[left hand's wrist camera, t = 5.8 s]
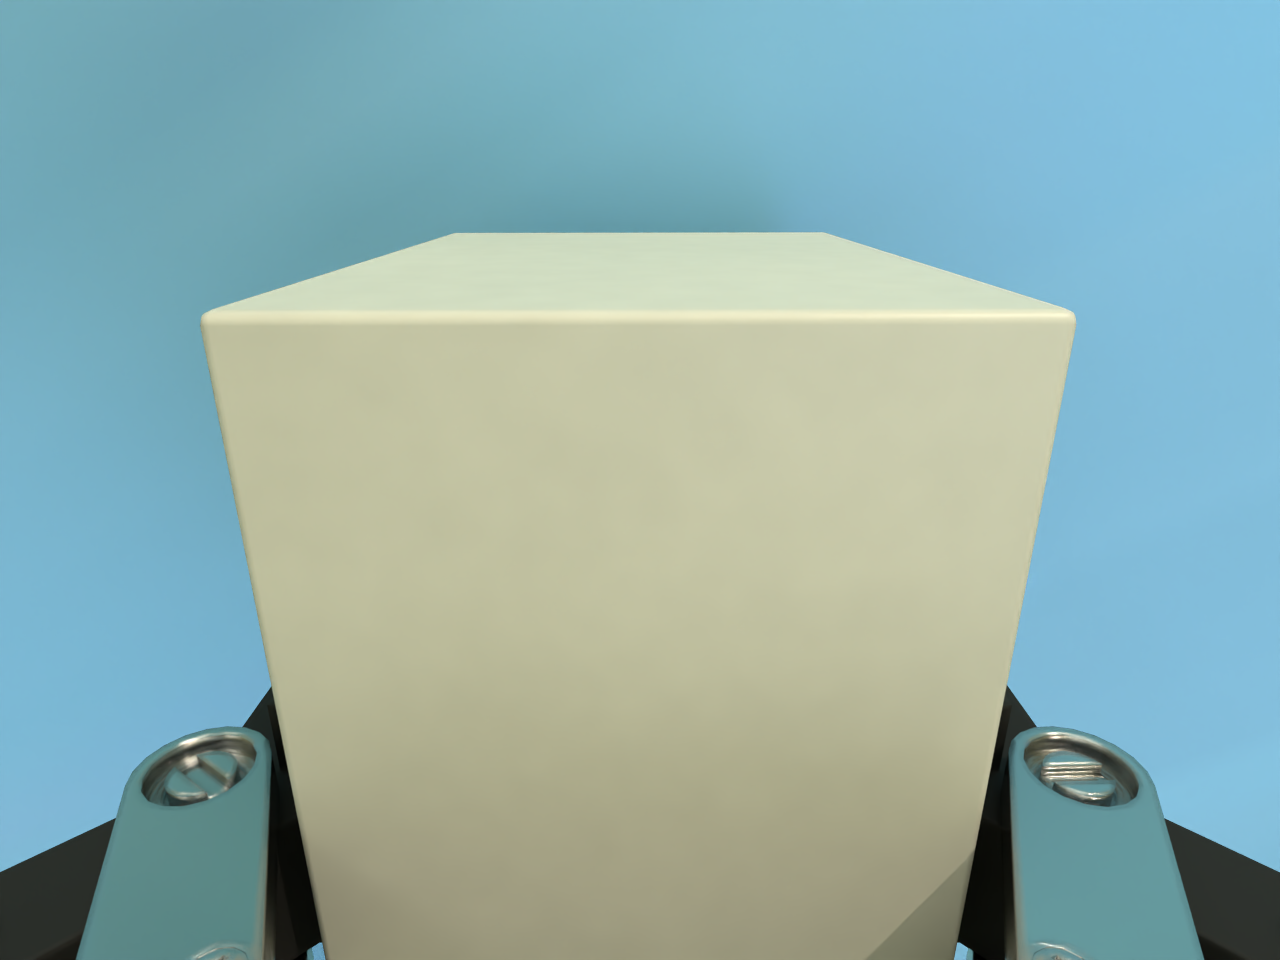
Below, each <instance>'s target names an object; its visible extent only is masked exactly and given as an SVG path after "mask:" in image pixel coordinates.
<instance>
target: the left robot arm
mask: <svg viewBox="0 0 1280 960" xmlns="http://www.w3.org/2000/svg"><path fill="white" fill-rule="evenodd" d="M319 942H322V938H321V933H320V928H319V923H318V918H317V913H316V908H315V903H314V898H313V893H312V888H311V883H310V878H309V873H308V868H307V863H306V857H305V852H304V847H303V842H302V837H301V832H300V827H299V822H298V817H297V812H296V807H295V802H294V797H293V792H292V787H291V782H290V777H289V772H288V767H287V761H286V756H285V751H284V746H283V741H282V736H281V731H280V726H279V721H278V716H277V711H276V706H275V701H274V696H273V691H272V686H271V688H270V689H269V691H268V692H267V693H266V695H265V696H264V698H263V699H262V700H261V702H260V703H259V705H258V706H257V707H256V709H255V710H254V712H253V713H252V714H251V716H250V717H249V719H248V720H247V721H246V723H245V724H244V726H243V727H229V726H227V727H219V728H211V729H206V730H202V731H199V732H195V733H192V734H189V735H185V736H183V737H181V738H179V739H177V740H175V741H173V742H170V743H168V744H166V745H164V746H163V747H161V748H160V749H158V750H157V751H155V752H154V753H152V754H151V755H149V756H148V757H146V758H145V759H144V760H143V762H142V763H141V764H140V765H139V766H138V767H137V768H136V769H135V770H134V771H133V772H132V774H131V776H130V778H129V779H128V781H127V783H126V785H125V788H124V791H123V795H122V799H121V802H120V806H119V809H118V813H117V816H116V818H115V819H113V820H111V821H108V822H106V823H104V824H102V825H100V826H98V827H96V828H94V829H91V830H89V831H87V832H85V833H83V834H81V835H79V836H76V837H74V838H72V839H70V840H68V841H66V842H64V843H62V844H59V845H57V846H55V847H53V848H51V849H49V850H47V851H45V852H42V853H40V854H38V855H36V856H34V857H32V858H30V859H27V860H25V861H23V862H21V863H19V864H17V865H15V866H13V867H10V868H8V869H6V870H4V871H2V872H0V960H314V957H313V952H312V947H313V946H315V945H316V944H318V943H319ZM957 942H960V943H961V944H963V945H964V946H966V947H968V952H967V957H966V960H1280V872H1278V871H1276V870H1273V869H1271V868H1269V867H1267V866H1265V865H1263V864H1261V863H1258V862H1256V861H1254V860H1252V859H1250V858H1248V857H1246V856H1244V855H1241V854H1239V853H1237V852H1235V851H1233V850H1231V849H1229V848H1226V847H1224V846H1222V845H1220V844H1218V843H1216V842H1214V841H1212V840H1209V839H1207V838H1205V837H1203V836H1201V835H1199V834H1197V833H1194V832H1192V831H1190V830H1188V829H1186V828H1184V827H1182V826H1180V825H1177V824H1175V823H1173V822H1171V821H1169V820H1167V819H1165V818H1164V816H1163V813H1162V809H1161V806H1160V802H1159V799H1158V795H1157V791H1156V788H1155V785H1154V783H1153V781H1152V779H1151V778H1150V776H1149V774H1148V772H1147V771H1146V770H1145V769H1144V768H1143V767H1142V766H1141V765H1140V764H1139V763H1138V762H1137V760H1136V759H1135V758H1134V757H1132V756H1131V755H1129V754H1128V753H1126V752H1125V751H1123V750H1122V749H1120V748H1119V747H1117V746H1116V745H1114V744H1112V743H1110V742H1107V741H1105V740H1103V739H1101V738H1099V737H1097V736H1095V735H1091V734H1088V733H1085V732H1081V731H1078V730H1074V729H1069V728H1061V727H1053V726H1051V727H1036V725H1035V724H1034V722H1033V721H1032V720H1031V718H1030V717H1029V715H1028V714H1027V713H1026V711H1025V710H1024V708H1023V707H1022V706H1021V704H1020V703H1019V701H1018V700H1017V699H1016V697H1015V696H1014V694H1013V693H1012V692H1011V690H1010V689H1009V687H1008V686H1006V691H1005V696H1004V702H1003V707H1002V712H1001V717H1000V722H999V728H998V733H997V738H996V743H995V748H994V754H993V759H992V764H991V769H990V774H989V779H988V785H987V790H986V795H985V800H984V805H983V811H982V816H981V821H980V826H979V831H978V836H977V842H976V847H975V852H974V857H973V862H972V868H971V873H970V878H969V883H968V888H967V894H966V899H965V904H964V909H963V914H962V919H961V925H960V930H959V935H958V940H957Z"/></svg>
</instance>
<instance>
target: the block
mask: <svg viewBox="0 0 1280 960" xmlns="http://www.w3.org/2000/svg"><path fill="white" fill-rule="evenodd" d="M200 327H201V332H202V337H203V342H204V347H205V352H206V357H207V362H208V367H209V372H210V377H211V383H212V388H213V393H214V398H215V403H216V408H217V413H218V418H219V423H220V428H221V433H222V438H223V443H224V448H225V453H226V458H227V463H228V468H229V473H230V479H231V484H232V489H233V494H234V499H235V504H236V509H237V514H238V519H239V524H240V529H241V534H242V539H243V544H244V549H245V554H246V559H247V564H248V569H249V575H250V580H251V585H252V590H253V595H254V600H255V605H256V610H257V615H258V620H259V625H260V630H261V635H262V640H263V645H264V650H265V655H266V660H267V665H268V671H269V676H270V681H271V686H272V691H273V696H274V701H275V706H276V711H277V716H278V721H279V726H280V731H281V736H282V741H283V746H284V751H285V756H286V761H287V767H288V772H289V777H290V782H291V787H292V792H293V797H294V802H295V807H296V812H297V817H298V822H299V827H300V832H301V837H302V842H303V847H304V852H305V857H306V863H307V868H308V873H309V878H310V883H311V888H312V893H313V898H314V903H315V908H316V913H317V918H318V923H319V928H320V933H321V938H322V943H323V948H324V953H325V959H326V960H954V956H955V951H956V945H957V940H958V935H959V930H960V925H961V919H962V914H963V909H964V904H965V899H966V894H967V888H968V883H969V878H970V873H971V868H972V862H973V857H974V852H975V847H976V842H977V836H978V831H979V826H980V821H981V816H982V811H983V805H984V800H985V795H986V790H987V785H988V779H989V774H990V769H991V764H992V759H993V754H994V748H995V743H996V738H997V733H998V728H999V722H1000V717H1001V712H1002V707H1003V702H1004V696H1005V691H1006V686H1007V681H1008V676H1009V671H1010V665H1011V660H1012V655H1013V650H1014V645H1015V639H1016V634H1017V629H1018V624H1019V619H1020V613H1021V608H1022V603H1023V598H1024V593H1025V588H1026V582H1027V577H1028V572H1029V567H1030V562H1031V556H1032V551H1033V546H1034V541H1035V536H1036V531H1037V525H1038V520H1039V515H1040V510H1041V505H1042V499H1043V494H1044V489H1045V484H1046V479H1047V473H1048V468H1049V463H1050V458H1051V453H1052V448H1053V442H1054V437H1055V432H1056V427H1057V422H1058V416H1059V411H1060V406H1061V401H1062V396H1063V390H1064V385H1065V380H1066V375H1067V370H1068V365H1069V359H1070V354H1071V349H1072V344H1073V339H1074V333H1075V328H1076V319H1075V315H1074V313H1073V312H1072V311H1069V310H1067V309H1065V308H1063V307H1059V306H1056V305H1053V304H1050V303H1047V302H1043V301H1040V300H1037V299H1034V298H1031V297H1028V296H1024V295H1021V294H1018V293H1015V292H1012V291H1008V290H1005V289H1002V288H999V287H996V286H993V285H989V284H986V283H983V282H980V281H977V280H974V279H970V278H967V277H964V276H961V275H958V274H954V273H951V272H948V271H945V270H942V269H939V268H935V267H932V266H929V265H926V264H923V263H919V262H916V261H913V260H910V259H907V258H904V257H900V256H897V255H894V254H891V253H888V252H884V251H881V250H878V249H875V248H872V247H869V246H865V245H862V244H859V243H856V242H853V241H850V240H846V239H843V238H840V237H837V236H834V235H830V234H827V233H824V232H774V233H453V234H450V235H447V236H444V237H441V238H438V239H434V240H431V241H428V242H425V243H422V244H419V245H415V246H412V247H409V248H406V249H403V250H399V251H396V252H393V253H390V254H387V255H384V256H380V257H377V258H374V259H371V260H368V261H365V262H361V263H358V264H355V265H352V266H349V267H345V268H342V269H339V270H336V271H333V272H330V273H326V274H323V275H320V276H317V277H314V278H311V279H307V280H304V281H301V282H298V283H295V284H292V285H288V286H285V287H282V288H279V289H276V290H272V291H269V292H266V293H263V294H260V295H257V296H253V297H250V298H247V299H244V300H241V301H238V302H234V303H231V304H228V305H225V306H222V307H219V308H215V309H212V310H210V311H208V312H206V313H204V314H203V315H202V317H201V324H200Z"/></svg>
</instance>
